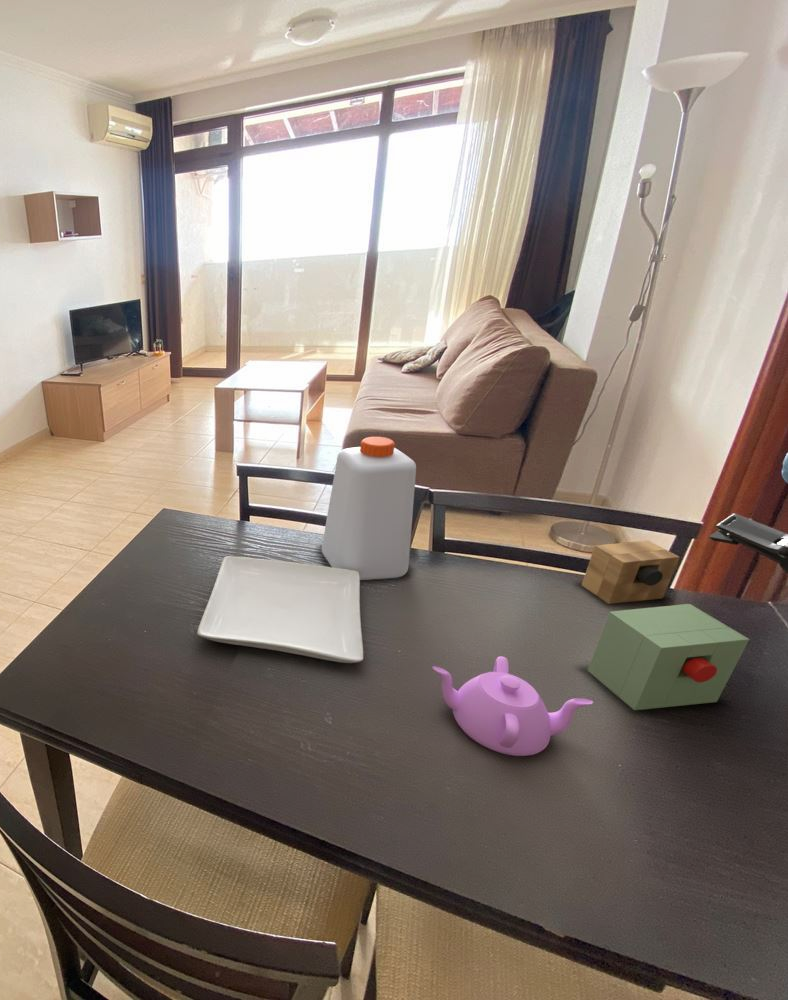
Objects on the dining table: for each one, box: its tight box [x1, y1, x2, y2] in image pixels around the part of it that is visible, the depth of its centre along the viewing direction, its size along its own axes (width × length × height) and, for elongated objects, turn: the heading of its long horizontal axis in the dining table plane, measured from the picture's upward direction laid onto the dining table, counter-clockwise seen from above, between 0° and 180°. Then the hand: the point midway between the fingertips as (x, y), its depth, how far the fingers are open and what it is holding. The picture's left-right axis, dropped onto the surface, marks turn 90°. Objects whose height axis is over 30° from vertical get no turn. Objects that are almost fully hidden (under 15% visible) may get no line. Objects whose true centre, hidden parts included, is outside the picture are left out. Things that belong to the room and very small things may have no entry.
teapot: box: [432, 656, 594, 757], centre depth 74 cm, size 12×14×9 cm
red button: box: [682, 658, 717, 682], centre depth 73 cm, size 3×2×3 cm, turn 93°
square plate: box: [196, 555, 364, 664], centre depth 102 cm, size 27×27×4 cm
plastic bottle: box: [321, 436, 417, 581], centre depth 111 cm, size 15×15×28 cm
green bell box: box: [587, 603, 750, 711], centre depth 78 cm, size 12×8×12 cm, turn 93°
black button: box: [637, 567, 663, 586], centre depth 94 cm, size 3×2×3 cm, turn 93°
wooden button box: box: [581, 539, 681, 605], centre depth 98 cm, size 10×6×10 cm, turn 93°
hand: (766, 566), depth 77 cm, fingers open, 13 cm apart
